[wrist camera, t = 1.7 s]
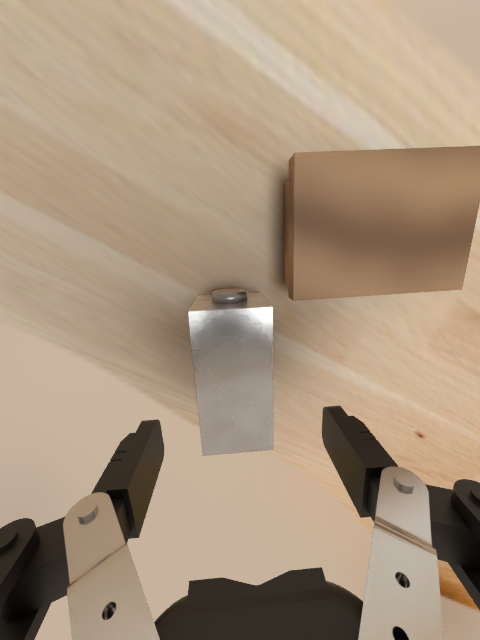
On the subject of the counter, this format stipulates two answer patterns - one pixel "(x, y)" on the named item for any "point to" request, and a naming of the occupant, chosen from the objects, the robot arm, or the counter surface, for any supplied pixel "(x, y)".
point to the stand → (379, 221)
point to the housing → (233, 370)
